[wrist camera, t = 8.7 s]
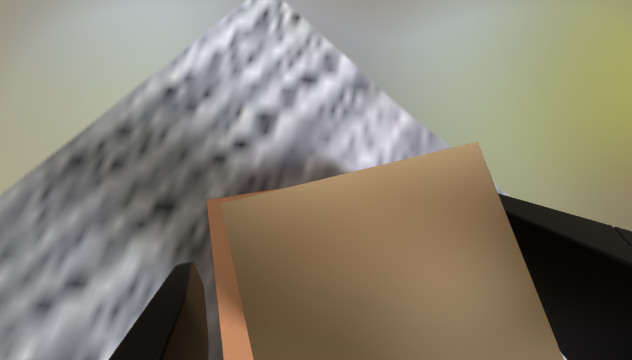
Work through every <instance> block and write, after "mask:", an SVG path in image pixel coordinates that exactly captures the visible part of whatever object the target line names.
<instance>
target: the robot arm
mask: <svg viewBox="0 0 632 360" xmlns="http://www.w3.org/2000/svg"><path fill="white" fill-rule="evenodd" d="M498 195H499V198H500V200H501V203H502V205H503V208H504V210H505V213H506V215H507V218H508V220H509V223H510V225H511V228H512V231H513V233H514V236H515V238H516V241H517V243H518V246H519V248H520V251H521V253H522V256H523V258H524V261H525V263H526V266H527V269H528V271H529V274H530V276H531V279H532V281H533V284H534V286H535V289H536V291H537V294H538V296H539V299H540V301H541V304H542V307H543V309H544V312H545V314H546V317H547V319H548V322H549V324H550V327H551V329H552V332H553V334H554V337H555V339H556V342H557V345H558V347H559V350H560V351H561V353H562V354H563V355H564V356H565V357H566V359H567V360H632V232H631V231H628V230H625V229H621V228H618V227H614V228H613V227H612V226H611V225H607V224H603V223H600V222H596V221H593V220H589V219H586V218H582V217H579V216H575V215H572V214H568V213H565V212H561V211H558V210H554V209H550V208H547V207H544V206H540V205H537V204H533V203H529V202H526V201H523V200H519V199H516V198H512V197H509V196H505V195H502V194H498ZM208 357H209V344H208V330H207V318H206V307H205V295H204V287H203V284H202V281H201V278H200V276H199V274H198V271H197V269H196V267H195V264H194V263H193V262H191V261H190V262H186V263H182V264H178V265H176V266H175V267H174V269H173V270H172V271H171V273H170V274H169V276H168V277H167V278H166V280H165V281H164V283H163V284H162V285H161V287H160V288H159V290H158V291H157V292H156V294H155V295H154V297H153V298H152V299H151V301H150V302H149V304H148V305H147V306H146V308H145V309H144V311H143V312H142V314H141V315H140V316H139V318H138V319H137V321H136V322H135V323H134V325H133V326H132V328H131V329H130V330H129V332H128V333H127V335H126V336H125V337H124V339H123V340H122V342H121V343H120V344H119V346H118V347H117V349H116V350H115V351H114V353H113V354H112V356H111V357H110V358H109V360H208Z"/></svg>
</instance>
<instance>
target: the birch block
mask: <svg viewBox="0 0 632 360" xmlns="http://www.w3.org/2000/svg"><path fill="white" fill-rule="evenodd" d="M221 209H222V213H223V218H224V223H225V228H226V232H227V237H228V242H229V246H230V251H231V256H232V261H233V265H234V270H235V275H236V279H237V284H238V289H239V294H240V298H241V303H242V308H243V312H244V317H245V322H246V327H247V331H248V336H249V341H250V345H251V350H252V355H253V360H563V357H562V355H561V352H560V350H559V347H558V345H557V342H556V339H555V337H554V334H553V332H552V329H551V327H550V324H549V322H548V319H547V317H546V314H545V312H544V309H543V307H542V304H541V301H540V299H539V296H538V294H537V291H536V289H535V286H534V284H533V281H532V279H531V276H530V274H529V271H528V269H527V266H526V263H525V261H524V258H523V256H522V253H521V251H520V248H519V246H518V243H517V241H516V238H515V236H514V233H513V231H512V228H511V225H510V223H509V220H508V218H507V215H506V213H505V210H504V208H503V205H502V203H501V200H500V198H499V195H498V193H497V190H496V187H495V185H494V182H493V180H492V177H491V175H490V172H489V170H488V167H487V165H486V162H485V160H484V157H483V155H482V152H481V149H480V147H479V145H478V142H475V143H471V144H467V145H463V146H459V147H454V148H450V149H446V150H442V151H438V152H433V153H429V154H425V155H421V156H417V157H413V158H408V159H404V160H400V161H396V162H392V163H388V164H383V165H379V166H375V167H371V168H367V169H363V170H359V171H354V172H350V173H346V174H342V175H338V176H334V177H329V178H325V179H321V180H317V181H313V182H309V183H304V184H300V185H296V186H292V187H288V188H284V189H279V190H275V191H271V192H267V193H263V194H259V195H255V196H250V197H246V198H242V199H238V200H234V201H230V202H225V203H221Z"/></svg>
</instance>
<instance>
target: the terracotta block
mask: <svg viewBox="0 0 632 360" xmlns="http://www.w3.org/2000/svg"><path fill="white" fill-rule="evenodd" d="M286 188H288V187H286ZM280 189H284V188H280ZM275 190H279V189H274V190H267V191H261V192H254V193H248V194H241V195H235V196H228V197H222V198H216V199H209V200H207V209H208V218H209V227H210V237H211V246H212V255H213V264H214V274H215V283H216V292H217V301H218V311H219V320H220V329H221V338H222V348H223V357H224V360H253V355H252V350H251V345H250V341H249V336H248V331H247V327H246V322H245V317H244V312H243V308H242V303H241V298H240V294H239V289H238V284H237V279H236V275H235V270H234V265H233V261H232V256H231V251H230V246H229V242H228V237H227V232H226V228H225V223H224V218H223V213H222V209H221V203H225V202H230V201H234V200H238V199H242V198H246V197H250V196H255V195H259V194H263V193H267V192H271V191H275Z"/></svg>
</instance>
